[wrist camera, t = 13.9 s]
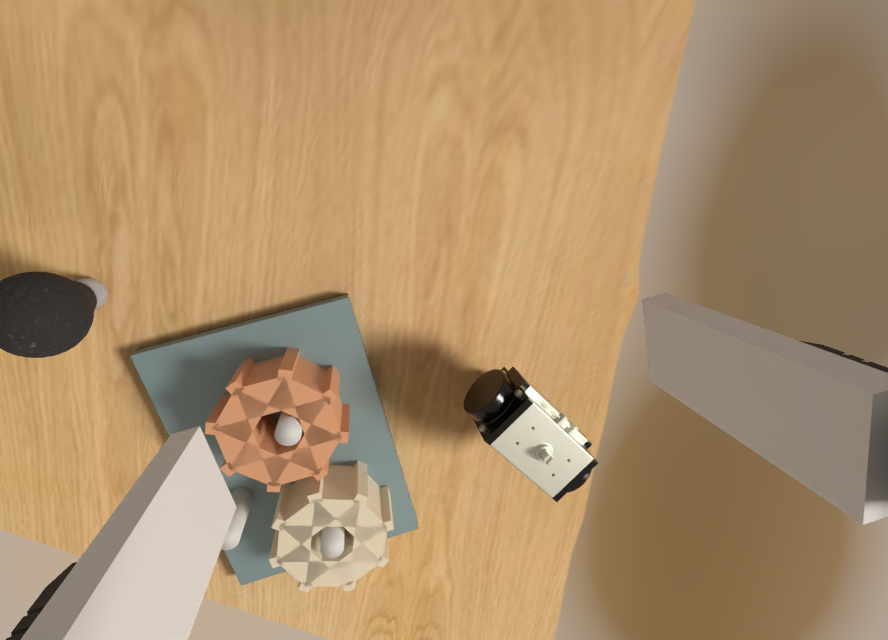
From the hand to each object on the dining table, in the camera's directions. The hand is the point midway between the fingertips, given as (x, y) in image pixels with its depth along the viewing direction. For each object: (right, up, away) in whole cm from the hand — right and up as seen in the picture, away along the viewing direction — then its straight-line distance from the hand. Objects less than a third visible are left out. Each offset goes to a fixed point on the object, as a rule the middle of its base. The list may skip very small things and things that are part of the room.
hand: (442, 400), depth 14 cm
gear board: (-14, -9, +30) cm, 35 cm away
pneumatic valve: (+6, -5, +33) cm, 34 cm away
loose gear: (-14, -5, +28) cm, 31 cm away
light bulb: (-28, +5, +24) cm, 37 cm away
